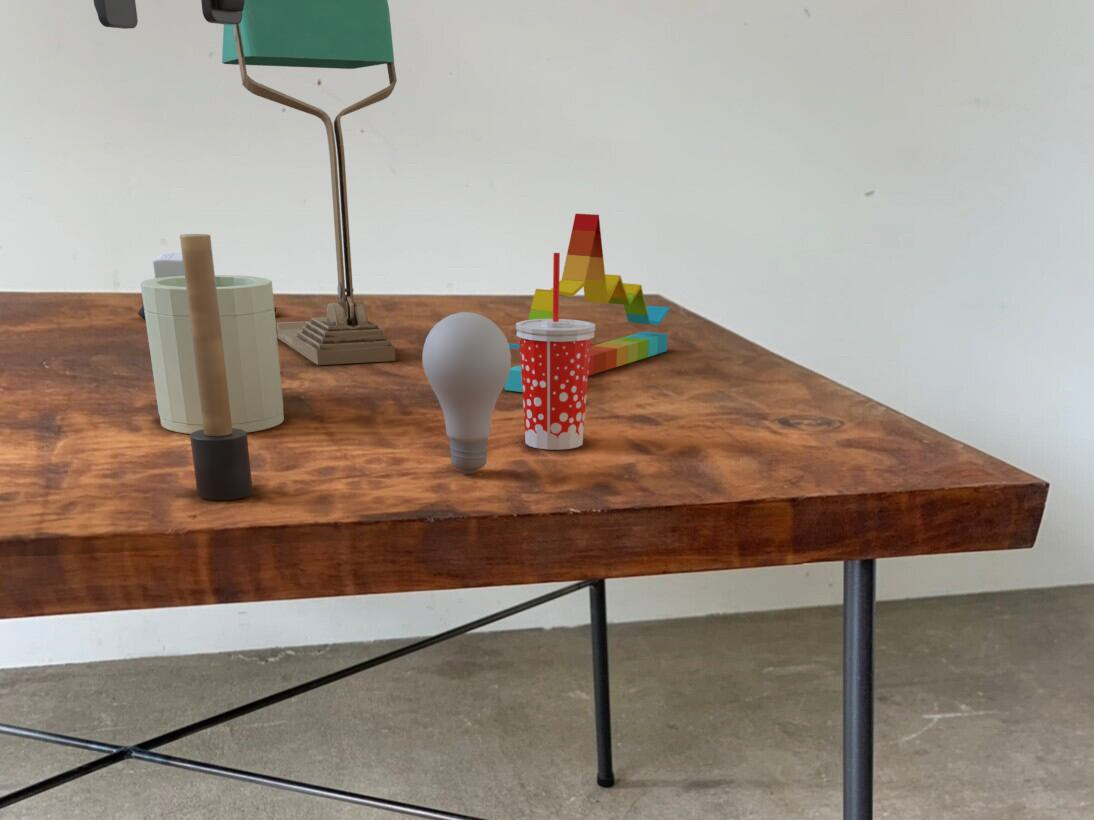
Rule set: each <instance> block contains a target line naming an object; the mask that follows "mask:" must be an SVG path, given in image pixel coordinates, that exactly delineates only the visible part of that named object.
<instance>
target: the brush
mask: <svg viewBox="0 0 1094 820" xmlns="http://www.w3.org/2000/svg"><path fill="white" fill-rule="evenodd" d="M211 237H212V236H211V234H209V233H208V234H207V233H184V234H180V235H179V241H180V248H181V253H182V258H183V266H184V274H185V282H186V290H187V298H188V307H189V315H190V323H191V331H192V339H193V347H194V355H195V363H196V371H197V380H198V388H199V396H200V404H201V412H202V420H203V428H204V429H203V430H198V431H195V432H193V433H191V434H189V438H190V445H191V446H190V447H191V453H192V455H191V456H192V461H193V469H194V477H195V484H196V485H195V486H196V491H197V497H199V498H201V499H204V500H207V501H216V502H217V501H219V502H224V501H225V502H227V501H234V500H235V501H236V500H240V499H244V498H247V497H249V496H251V495H252V494H253V492H254V489H253V480H252V472H251V471H252V470H251V461H250V451H249V442H248V433H246V431H244V430H241V429H236V428H232V424H231V415H230V406H229V397H228V388H227V379H226V370H225V361H224V353H223V344H222V335H221V326H220V317H219V308H218V299H217V290H216V281H215V275H216V274H215V273H216V272H215V264H214V256H213V246H212V238H211Z"/></svg>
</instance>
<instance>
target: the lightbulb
mask: <svg viewBox="0 0 1094 820" xmlns="http://www.w3.org/2000/svg"><path fill="white" fill-rule="evenodd" d="M509 344H510V343H509V342H508V339H507V337H506V336H505V334H504V332H503V331H502V329H500V327H499V326H498V325H497V324H496V323H495V322H493V321H492V320H491V319H490V318H488V317H486V316H484V315H482V314H479V313H475V312H470V311H462V312H456V313H453V314H449V315H448V316H446V317H444V318H442V319H440V320H439V321H438V322H437V323H436V324H435V325H434V326H433V327H432V328H431V330H429V333H428V334H427V336H426V338H425V341H424V344H423V348H422V356H421V358H422V361H421V363H422V369H423V372H424V374H425V377H426V379H427V382H428V384H429V386H430V387H431V390H432V391H433V393H434V395H435V396H436V398H437V400H438V402H439V406H440V408H441V410H442V415H443V418H444V423H445V433H446V436H447V437H448V439H449V449H450V461H451V462H450V463H451V464H452V466H453V467H455V468H456V469H458V470H460V471H461V473H462V474H463V475H464V474H465V475H474V474H476V473H477V472H478V470H479V469H482V468H484V467H485V466H486V465H487V458H488V439H489V437H490V436H491V432H492V431H491V429H492V420H493V413H494V410H495V407H496V403H497V401H498V398H499V396H500V395H501V392H502V391H503V390H504V388H505V383H506V380H507V378H508V376H509V372H510V368H512V354H511V353H512V352H511V348H509Z"/></svg>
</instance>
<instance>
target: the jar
mask: <svg viewBox="0 0 1094 820" xmlns="http://www.w3.org/2000/svg"><path fill="white" fill-rule="evenodd" d="M215 281H216V290H217V299H218V308H219V317H220V326H221V335H222V344H223V353H224V361H225V370H226V379H227V388H228V397H229V406H230V415H231V424H232V428H236V429H241V430H244V431H246V433H247V434H249V433H254V432H260V431H264V430H269V429H272V428H274V427H277V426H279V425H281V424H282V423H284V420H285V416H284V415H285V414H284V399H283V398H284V397H283V387H282V377H281V367H280V365H281V364H280V355H279V344H278V333H277V322H276V312H275V310H274V307H275V299H274V290H273V281H272V280H271V279H268V278H265V277H260V276H253V275H252V276H250V275H237V274H232V275H231V274H215ZM140 289H141V297H142V303H143V304H142V305H144V309H145V310H144V312H145V319H144V320H145V325H146V333H147V340H148V347H149V353H150V361H151V369H152V375H153V382H154V390H155V391H154V392H155V395H156V396H155V397H156V405H157V409H158V410H157V411H158V416H159V421H160V425H161V426H162V427H163V428H164V429H165V430H168V431H171V432H174V433H175V432H176V433H178V434H179V433H180V434H188V435H190V434H191V433H193V432H195V431H198V430H203V429H204V428H203V420H202V412H201V404H200V396H199V388H198V380H197V371H196V363H195V355H194V347H193V339H192V331H191V323H190V315H189V307H188V298H187V290H186V282H185V276H172V277H162V278H155V277H154V278H149V279H145V280H143V281H142V282H140Z"/></svg>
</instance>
